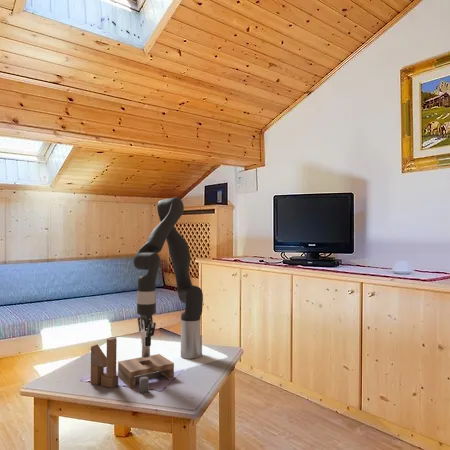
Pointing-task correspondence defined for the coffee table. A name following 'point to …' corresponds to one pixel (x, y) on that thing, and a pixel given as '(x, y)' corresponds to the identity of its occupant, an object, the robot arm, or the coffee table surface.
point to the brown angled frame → (104, 364)
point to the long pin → (145, 348)
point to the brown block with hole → (144, 368)
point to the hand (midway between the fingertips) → (146, 344)
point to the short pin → (143, 385)
